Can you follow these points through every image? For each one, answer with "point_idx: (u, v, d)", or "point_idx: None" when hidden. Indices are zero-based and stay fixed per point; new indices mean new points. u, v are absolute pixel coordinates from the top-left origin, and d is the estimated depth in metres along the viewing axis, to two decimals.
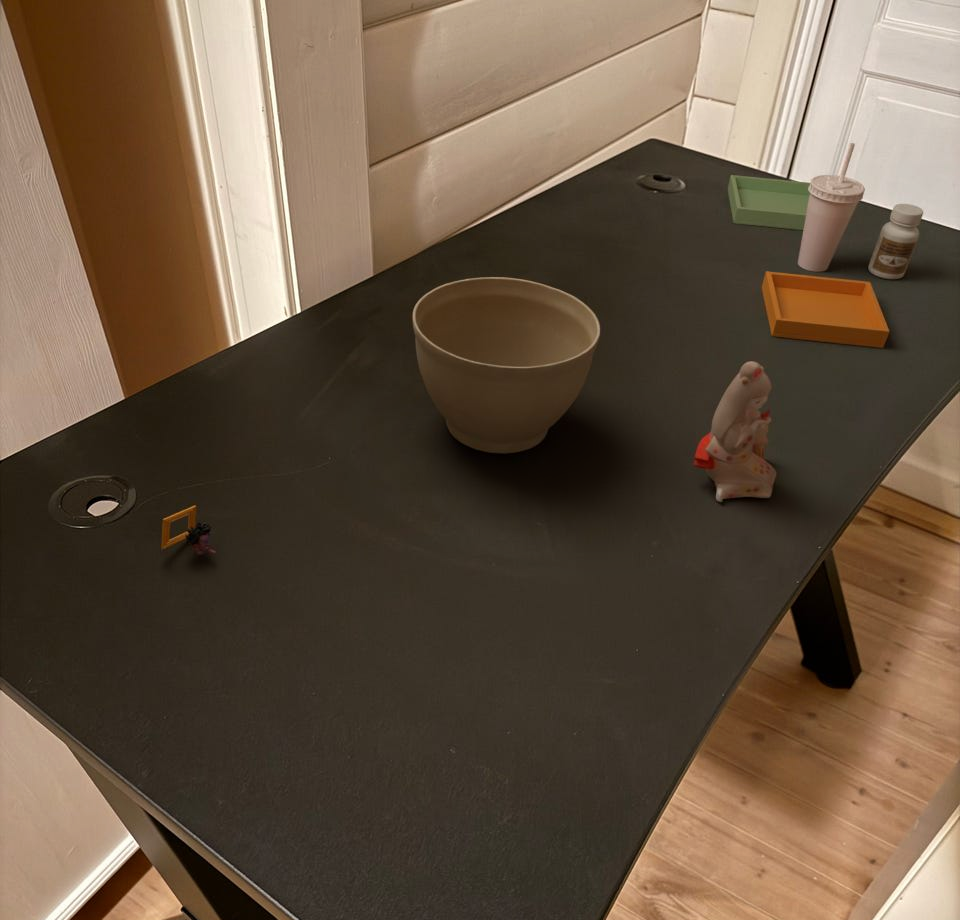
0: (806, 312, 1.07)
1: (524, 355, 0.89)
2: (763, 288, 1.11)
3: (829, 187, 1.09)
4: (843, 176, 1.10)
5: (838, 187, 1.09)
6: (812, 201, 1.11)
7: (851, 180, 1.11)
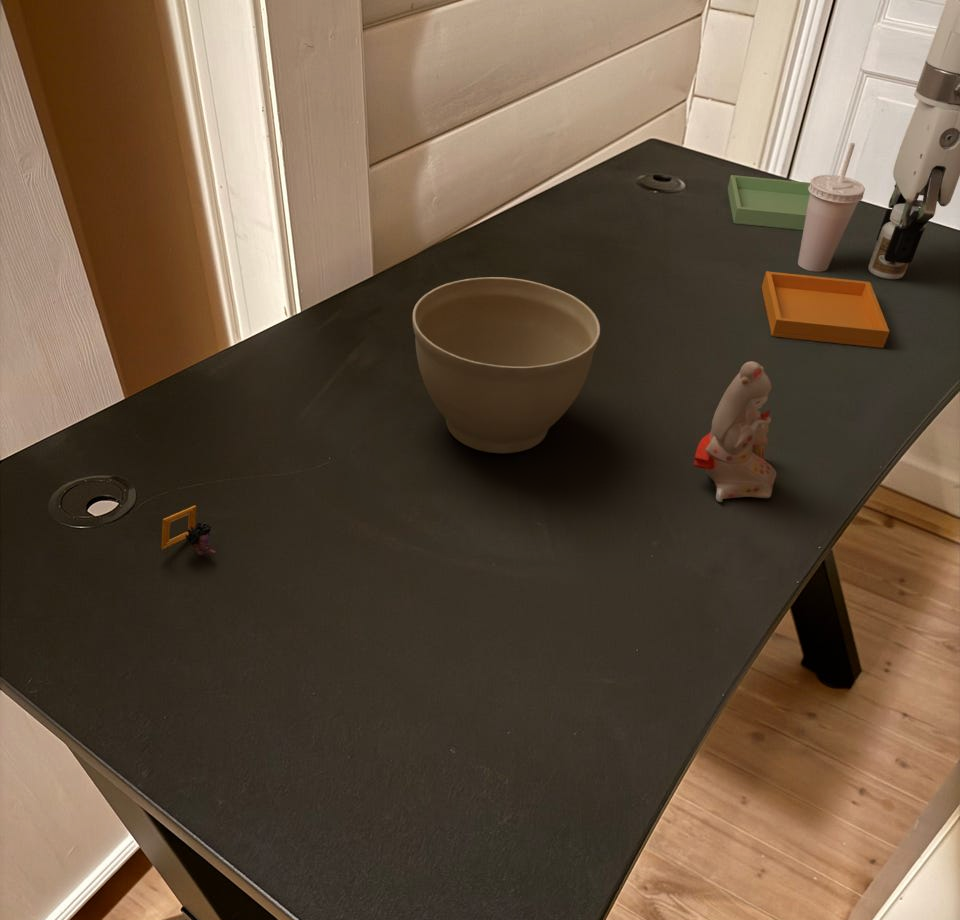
0: (806, 312, 1.07)
1: (524, 355, 0.89)
2: (763, 288, 1.11)
3: (829, 187, 1.09)
4: (843, 176, 1.10)
5: (838, 187, 1.09)
6: (812, 201, 1.11)
7: (851, 180, 1.11)
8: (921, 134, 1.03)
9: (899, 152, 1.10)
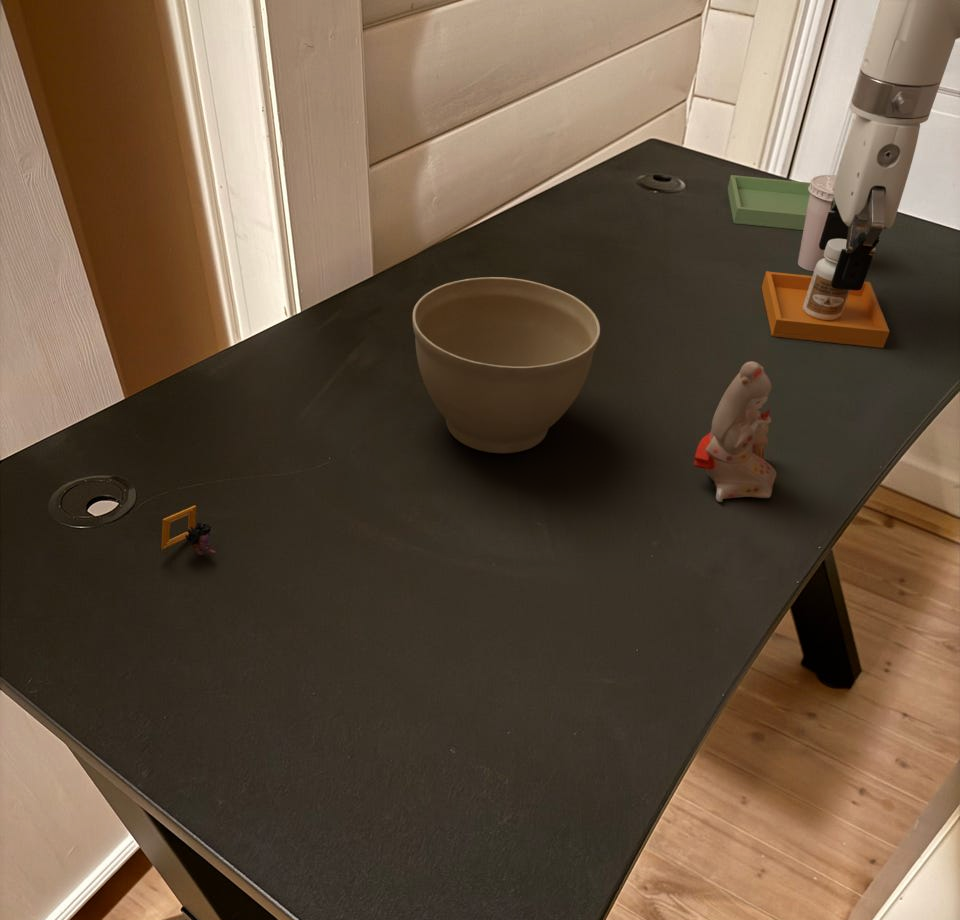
0: None
1: (524, 355, 0.89)
2: (763, 288, 1.11)
3: (829, 187, 1.09)
4: None
5: None
6: (812, 201, 1.11)
7: None
8: (858, 150, 0.93)
9: (838, 169, 1.00)
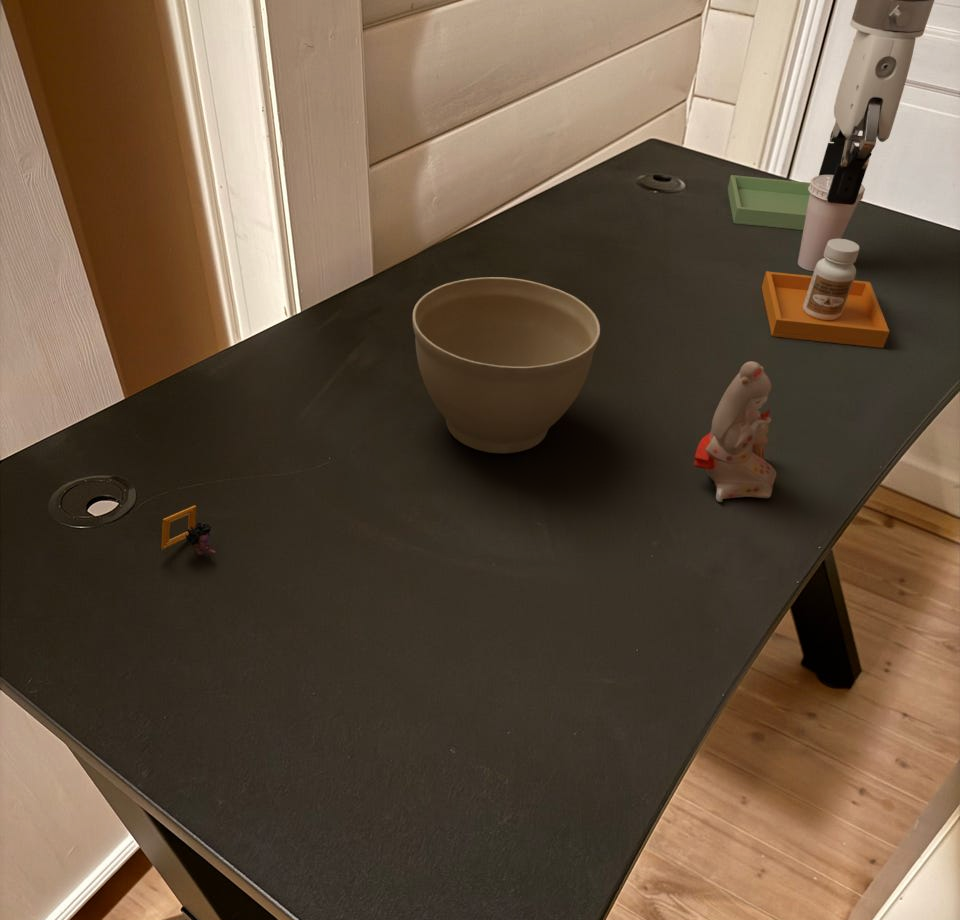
0: None
1: (524, 355, 0.89)
2: (763, 288, 1.11)
3: (829, 187, 1.09)
4: None
5: None
6: (812, 201, 1.11)
7: None
8: (857, 64, 0.99)
9: (839, 88, 1.06)
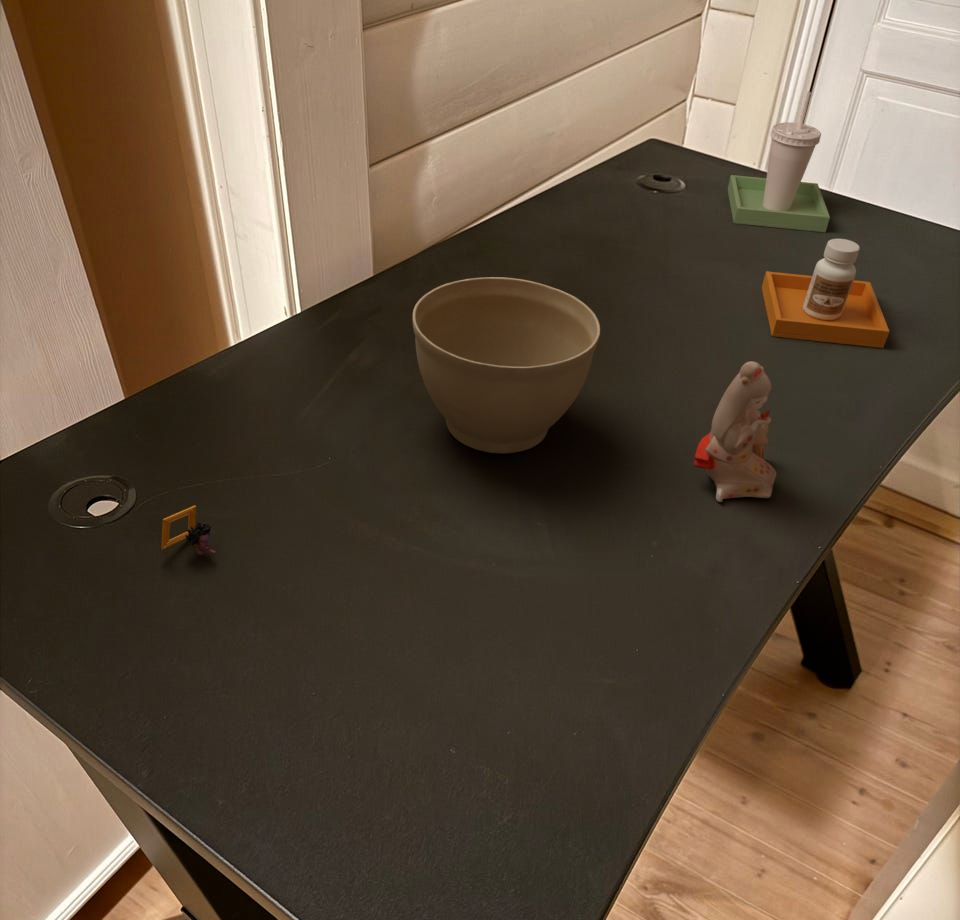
0: None
1: (524, 355, 0.89)
2: (763, 288, 1.11)
3: (788, 132, 1.21)
4: (801, 122, 1.21)
5: (797, 132, 1.21)
6: (774, 146, 1.22)
7: (809, 127, 1.23)
8: None
9: None
